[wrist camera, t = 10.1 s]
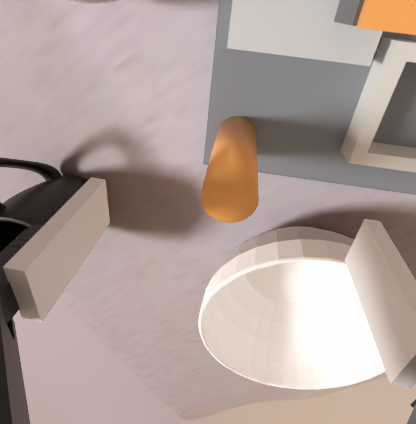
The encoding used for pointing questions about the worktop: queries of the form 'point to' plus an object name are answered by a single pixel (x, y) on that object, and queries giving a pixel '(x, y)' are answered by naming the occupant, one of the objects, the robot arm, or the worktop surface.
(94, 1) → the black domed piece
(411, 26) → the block
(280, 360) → the bowl
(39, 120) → the worktop surface
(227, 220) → the pin
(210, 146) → the panel board
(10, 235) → the mug
